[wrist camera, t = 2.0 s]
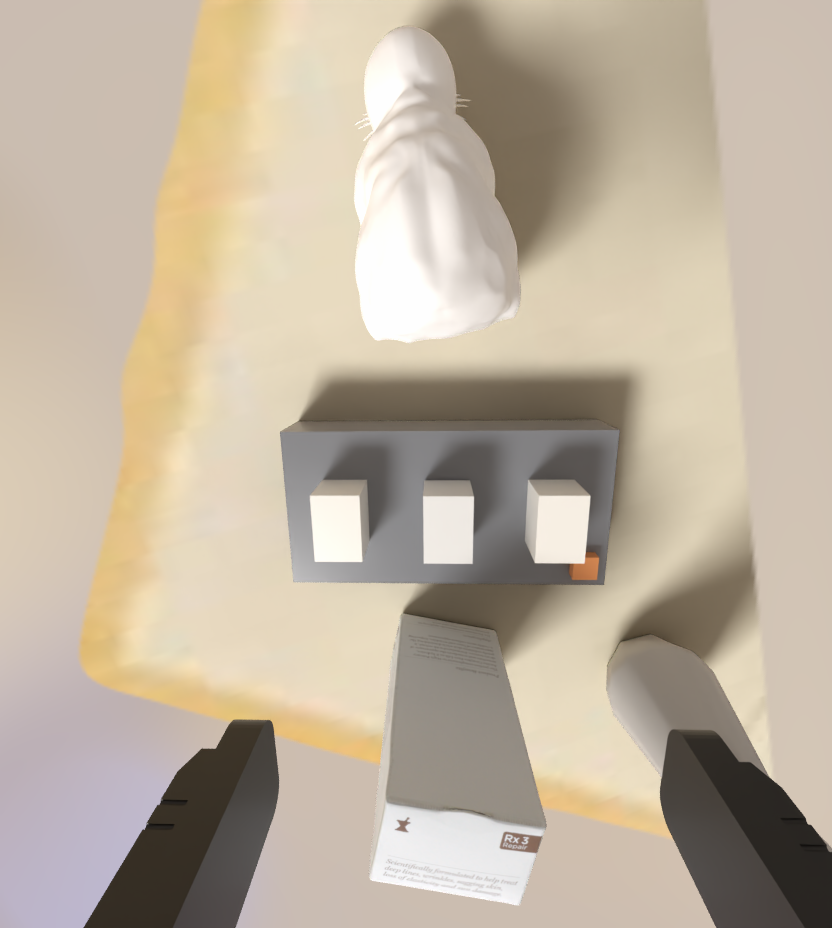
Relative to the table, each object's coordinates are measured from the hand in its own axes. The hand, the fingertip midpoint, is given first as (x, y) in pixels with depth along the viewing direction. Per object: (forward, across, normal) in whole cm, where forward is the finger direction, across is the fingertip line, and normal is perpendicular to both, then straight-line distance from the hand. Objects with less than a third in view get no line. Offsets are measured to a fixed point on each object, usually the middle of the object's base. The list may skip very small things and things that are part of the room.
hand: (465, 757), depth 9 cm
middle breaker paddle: (+14, 0, 0) cm, 14 cm away
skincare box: (+17, 0, +10) cm, 20 cm away
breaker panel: (+17, 0, 0) cm, 17 cm away
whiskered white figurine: (+17, +1, -14) cm, 22 cm away
